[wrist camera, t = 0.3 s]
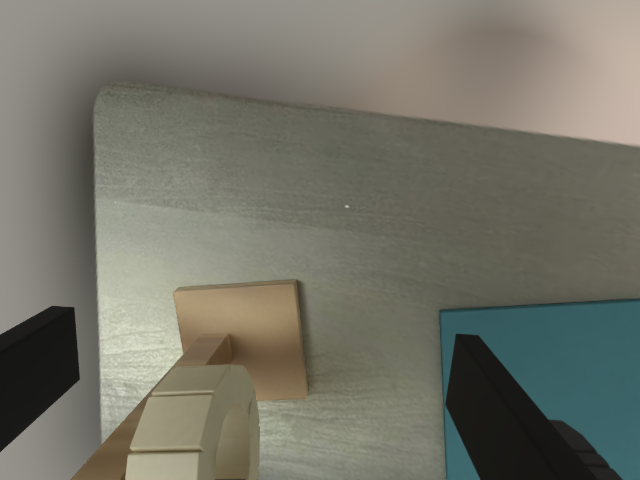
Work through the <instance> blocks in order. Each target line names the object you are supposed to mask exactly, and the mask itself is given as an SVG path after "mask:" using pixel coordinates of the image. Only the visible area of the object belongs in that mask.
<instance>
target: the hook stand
mask: <svg viewBox="0 0 640 480" xmlns="http://www.w3.org/2000/svg"><path fill="white" fill-rule="evenodd" d="M173 296H174V301H175V307H176V313H177V319H178V325H179V331H180V337H181V343H182V349H183V355H182V356H181V358H180V359H179V360H178V361H177V362H176V363H175V364H174V365H173V366H172V368H171V369H170V370H169V371H168V372H167V373H166V374H165V375H164V376H163V378H162V379H161V380H160V381H159V382H158V383H157V384H156V385H155V386H154V388H153V389H152V390H151V391H150V392H149V393H148V394H147V395H146V396H145V398H144V399H143V400H142V401H141V402H140V403H139V404H138V405H137V406H136V407H135V409H134V410H133V411H132V412H131V413H130V414H129V415H128V416H127V417H126V419H125V420H124V421H123V422H122V423H121V424H120V425H119V426H118V427H117V429H116V430H115V431H114V432H113V433H112V434H111V435H110V436H109V437H108V439H107V440H106V441H105V442H104V443H103V444H102V445H101V446H100V447H99V449H98V450H97V451H96V452H95V453H94V454H93V455H92V456H91V458H90V459H89V460H88V461H87V462H86V463H85V464H84V465H83V466H82V468H81V469H80V470H79V471H78V472H77V473H76V474H75V475H74V476H73V477H72V479H71V480H125V476H126V467H127V458H128V455H129V454H131V453H134V452H133V451H132V450H131V449H130V445H131V443H132V440H133V437H134V435H135V432H136V429H137V427H138V424H139V421H140V419H141V416H142V413H143V411H144V408H145V405H146V403H147V400H148V398H149V397H152V391H153V390H154V389H155V388H156V387H157V386H158V385H159V384H160V382H161V381H162V380H163V379H164V378H165V377H166V376H167V375H168V373H169V372H170V371H171V370H172V369H175V367H184V366H206V365H228V364H232V365H243V366H244V367H246V370H247V372H248V374H249V376H250V378H251V381H252V383H253V385H254V390H255V393H256V400H257V401H263V400H291V399H307V395H308V382H307V373H306V364H305V355H304V346H303V337H302V328H301V318H300V309H299V300H298V291H297V282H296V280H283V281H268V282H253V283H238V284H223V285H208V286H193V287H179V288H178V289H176V290H175V291H173ZM215 480H246V479H215Z"/></svg>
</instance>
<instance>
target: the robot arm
mask: <svg viewBox="0 0 640 480" xmlns="http://www.w3.org/2000/svg"><path fill="white" fill-rule="evenodd" d="M79 379H80V376H79V363H78V350H77V337H76V324H75V312H74V307H60V306H51V307H49V308H48V309H46V310H44V311H42V312H40V313H38V314H37V315H35V316H33V317H31V318H29V319H28V320H26V321H24V322H22V323H20V324H19V325H17V326H15V327H14V328H11V329H10V330H8V331H6V332H4V333H2V334H1V335H0V452H1V451H2V450H3V449H4V448H5V447H6V446H7V445H8V444H10V443H11V442H12V441H13V440H14V439H15V438H16V437H17V436H18V435H19V434H20V433H22V432H23V431H24V430H25V429H26V428H27V427H28V426H29V425H30V424H31V423H33V422H34V421H35V420H36V419H37V418H38V417H39V416H40V415H41V414H42V413H43V412H45V411H46V410H47V409H48V408H49V407H50V406H51V405H52V404H53V403H54V402H56V401H57V400H58V399H59V398H60V397H61V396H62V395H63V394H64V393H65V392H66V391H68V390H69V389H70V388H71V387H72V386H73V385H74V384H75V383H76V382H77V381H79ZM445 405H446V408H447V410H448V412H449V414H450V416H451V418H452V420H453V422H454V425H455V427H456V429H457V431H458V433H459V435H460V437H461V440H462V442H463V444H464V446H465V448H466V450H467V452H468V455H469V457H470V459H471V461H472V463H473V465H474V467H475V470H476V472H477V474H478V476H479V478H480V480H623V479H622V478H621V477H620V476H619V475H618V474H617V473H616V472H615V470H614V469H613V468H610V466H609V464H608V463H607V462H606V461H605V459H604V458H603V457H602V456H601V455H600V454H597V451H596V449H595V448H594V447H593V446H592V445H591V444H590V443H589V442H588V441H587V440H586V438H585V437H584V436H583V435H582V434H580V433H579V432H578V431H576V430H575V429H573V428H572V427H570V426H569V425H568V424H566V423H565V422H563V421H562V420H548V419H547V417H546V416H545V415H544V414H543V412H542V411H541V410H540V409H539V408H538V406H537V405H536V404H535V403H534V402H533V400H532V399H531V398H530V397H529V396H528V394H527V393H526V392H525V391H524V390H523V388H522V387H521V386H520V385H519V384H518V382H517V381H516V380H515V379H514V377H513V376H512V375H511V374H510V373H509V371H508V370H507V369H506V368H505V367H504V365H503V364H502V363H501V362H500V361H499V359H498V358H497V357H496V356H495V355H494V353H493V352H492V351H491V350H490V349H489V347H488V346H487V345H486V344H485V342H484V341H483V340H482V339H481V338H480V336H479V335H471V334H456V336H455V343H454V349H453V356H452V363H451V369H450V376H449V382H448V389H447V396H446V402H445Z"/></svg>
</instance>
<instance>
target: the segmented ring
mask: <svg viewBox="0 0 640 480" xmlns="http://www.w3.org/2000/svg"><path fill="white" fill-rule="evenodd" d="M258 425H259V415H258V408H257V400H256V393H255V390H254V385H253V383H252V381H251V378H250V376H249V374H248V372H247V370H246V367H244V366H243V365H232V364H228V365H206V366H184V367H175V369H172V370H171V371H170V372H169V373H168V375H167V376H166V377H165V378H164V379H163V380H162V381H161V382H160V384H159V385H158V386H157V387H156V388H155V389H154V390H153V391H152V397H149V398H148V400H147V403H146V405H145V408H144V411H143V413H142V416H141V419H140V421H139V424H138V427H137V429H136V432H135V435H134V437H133V440H132V443H131V445H130V449H131V450H132V451H133V452H134V453H131V454H129V455H128V458H127V467H126V476H125V480H215V479H246V480H258V475H259V470H258V469H257V468H258V467H259V439H260V427H259V426H258Z"/></svg>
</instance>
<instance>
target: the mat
mask: <svg viewBox="0 0 640 480" xmlns="http://www.w3.org/2000/svg"><path fill="white" fill-rule="evenodd" d="M439 314H440V338H441V362H442V386H443V410H444V434H445V458H446V480H480V478H479V476H478V474H477V472H476V470H475V467H474V465H473V463H472V461H471V459H470V457H469V455H468V452H467V450H466V448H465V446H464V444H463V442H462V440H461V437H460V435H459V433H458V431H457V429H456V427H455V425H454V422H453V420H452V418H451V416H450V414H449V412H448V410H447V408H446V405H445V402H446V396H447V389H448V382H449V376H450V369H451V363H452V356H453V349H454V343H455V336H456V334H471V335H479V336H480V338H481V339H482V340H483V341H484V342H485V344H486V345H487V346H488V347H489V349H490V350H491V351H492V352H493V353H494V355H495V356H496V357H497V358H498V359H499V361H500V362H501V363H502V364H503V365H504V367H505V368H506V369H507V370H508V371H509V373H510V374H511V375H512V376H513V377H514V379H515V380H516V381H517V382H518V384H519V385H520V386H521V387H522V388H523V390H524V391H525V392H526V393H527V394H528V396H529V397H530V398H531V399H532V400H533V402H534V403H535V404H536V405H537V406H538V408H539V409H540V410H541V411H542V412H543V414H544V415H545V416H546V417H547V419H548V420H562V421H563V422H565V423H566V424H568V425H569V426H570V427H572V428H573V429H575V430H576V431H578V432H579V433H580V434H582V435H583V436H584V437H585V438H586V440H587V441H588V442H589V443H590V444H591V445H592V446H593V447H594V448H595V449H596V451H597V454H600V455H601V456H602V457H603V458H604V459H605V461H606V462H607V463H608V464H609V466H610V468H613V469H614V470H615V472H616V473H617V474H618V475H619V476H620V477H621V478H622V479H623V480H640V299H628V300H610V301H593V302H575V303H558V304H540V305H522V306H505V307H487V308H470V309H452V310H440V311H439Z"/></svg>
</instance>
